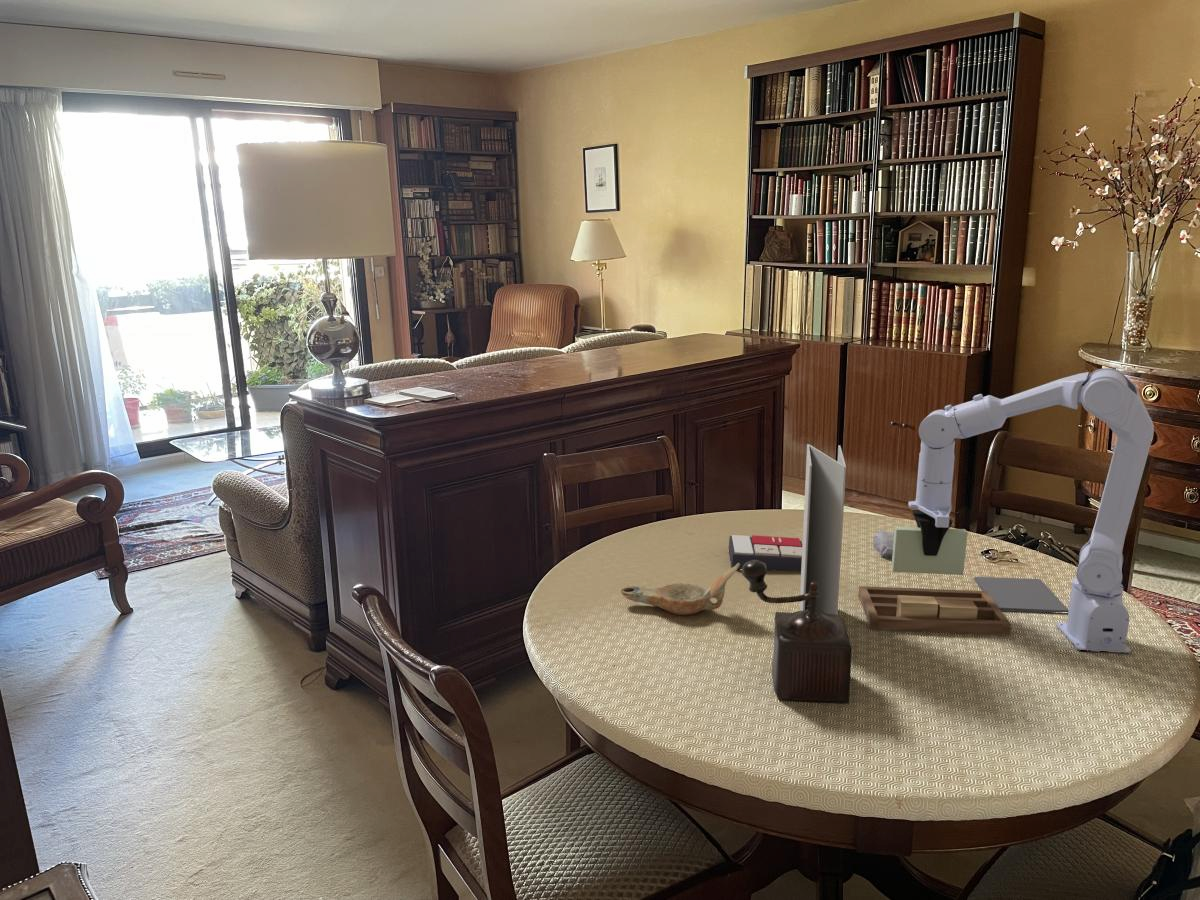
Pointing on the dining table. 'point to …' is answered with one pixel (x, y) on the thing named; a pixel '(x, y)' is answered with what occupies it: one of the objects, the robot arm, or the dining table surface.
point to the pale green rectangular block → (914, 561)
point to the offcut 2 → (957, 609)
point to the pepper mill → (806, 647)
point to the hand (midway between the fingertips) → (928, 552)
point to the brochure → (823, 528)
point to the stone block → (884, 543)
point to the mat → (1020, 594)
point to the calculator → (766, 551)
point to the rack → (883, 617)
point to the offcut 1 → (917, 606)
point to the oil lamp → (682, 595)
